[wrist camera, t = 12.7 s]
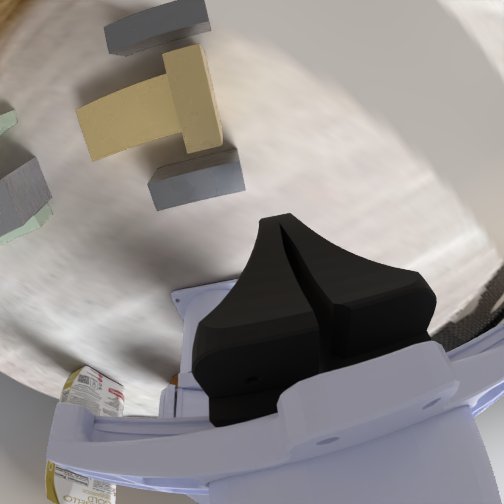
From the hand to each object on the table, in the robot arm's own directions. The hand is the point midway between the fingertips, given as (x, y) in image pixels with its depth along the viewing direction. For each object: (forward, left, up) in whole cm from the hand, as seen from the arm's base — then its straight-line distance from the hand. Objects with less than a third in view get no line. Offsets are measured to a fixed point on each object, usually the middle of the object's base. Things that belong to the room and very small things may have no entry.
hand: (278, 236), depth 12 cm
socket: (+6, +4, -10) cm, 12 cm away
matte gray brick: (+4, +22, -10) cm, 25 cm away
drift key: (+6, +6, -10) cm, 13 cm away
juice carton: (-26, +30, -10) cm, 41 cm away
